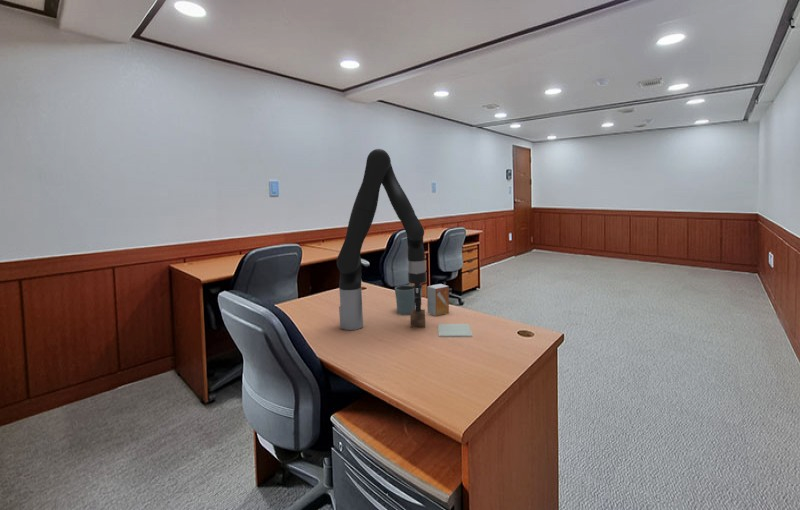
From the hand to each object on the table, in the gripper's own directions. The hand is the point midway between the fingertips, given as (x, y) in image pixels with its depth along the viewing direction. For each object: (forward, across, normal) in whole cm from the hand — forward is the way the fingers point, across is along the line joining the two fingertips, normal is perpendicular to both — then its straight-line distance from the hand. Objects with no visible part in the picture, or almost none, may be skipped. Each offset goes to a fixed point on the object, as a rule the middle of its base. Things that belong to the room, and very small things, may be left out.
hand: (418, 308), depth 161 cm
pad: (+8, +7, +14) cm, 18 cm away
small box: (+8, -16, +8) cm, 20 cm away
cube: (+8, 0, -1) cm, 8 cm away
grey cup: (+8, -18, -7) cm, 21 cm away
